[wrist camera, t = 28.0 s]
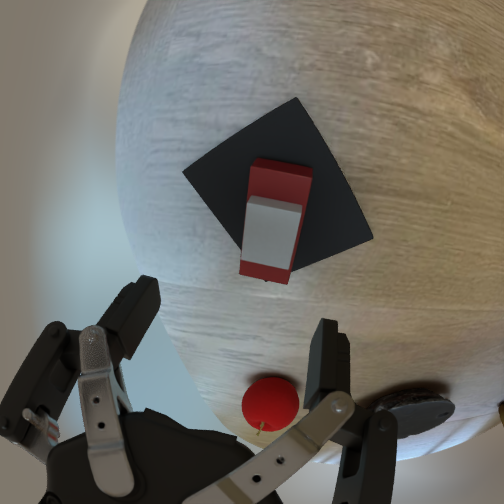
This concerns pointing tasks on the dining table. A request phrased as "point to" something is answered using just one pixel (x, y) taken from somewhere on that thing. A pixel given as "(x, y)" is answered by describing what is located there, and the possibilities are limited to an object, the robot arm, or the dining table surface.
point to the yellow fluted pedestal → (501, 413)
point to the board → (415, 410)
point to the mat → (289, 151)
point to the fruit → (270, 404)
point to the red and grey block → (273, 218)
